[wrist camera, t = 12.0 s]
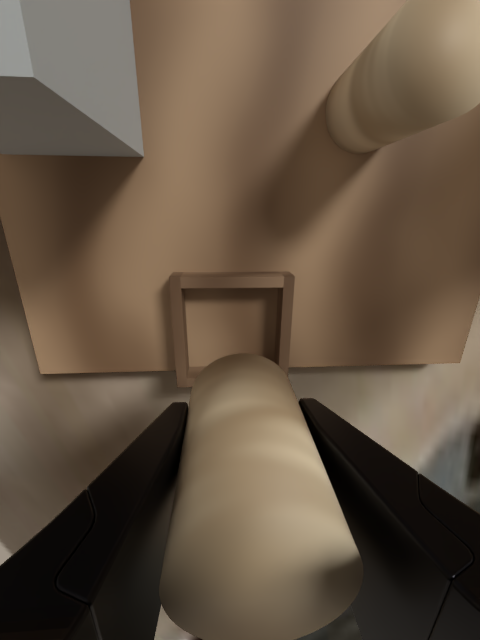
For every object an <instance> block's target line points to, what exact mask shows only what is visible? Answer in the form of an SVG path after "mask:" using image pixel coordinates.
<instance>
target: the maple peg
mask: <svg viewBox="0 0 480 640" xmlns="http://www.w3.org/2000/svg"><path fill="white" fill-rule="evenodd" d="M363 574H364V572H363V563H362V560H361V556H360V554H359V551H358V549H357V546H356V544H355V541H354V539H353V537H352V534H351V532H350V529H349V527H348V524H347V522H346V519H345V517H344V514H343V512H342V509H341V507H340V505H339V502H338V500H337V497H336V495H335V492H334V490H333V487H332V485H331V482H330V480H329V477H328V475H327V472H326V470H325V468H324V465H323V463H322V460H321V458H320V455H319V453H318V450H317V448H316V445H315V443H314V440H313V438H312V435H311V433H310V431H309V428H308V426H307V423H306V421H305V418H304V416H303V413H302V411H301V408H300V406H299V403H298V401H297V398H296V396H295V394H294V391H293V389H292V386H291V384H290V381H289V379H288V377H287V375H286V374H285V372H284V371H283V370H282V369H281V368H280V367H279V366H278V365H277V364H276V363H274V362H273V361H271V360H269V359H267V358H265V357H263V356H259V355H255V354H248V353H239V354H232V355H227V356H224V357H221V358H219V359H217V360H215V361H213V362H212V363H210V364H209V365H208V366H206V367H205V368H204V369H203V370H202V371H201V372H200V374H199V375H198V376H197V378H196V380H195V382H194V384H193V387H192V390H191V396H190V402H189V408H188V414H187V420H186V426H185V433H184V439H183V445H182V451H181V457H180V463H179V469H178V475H177V481H176V487H175V493H174V499H173V505H172V512H171V518H170V524H169V530H168V536H167V542H166V548H165V554H164V560H163V566H162V572H161V579H160V585H159V596H160V600H161V604H162V606H163V608H164V610H165V612H166V613H167V615H168V616H169V618H170V619H171V620H172V621H173V622H174V623H175V624H176V625H177V626H179V627H180V628H182V629H183V630H184V631H186V632H188V633H190V634H192V635H194V636H196V637H198V638H201V639H203V640H293V639H297V638H299V637H302V636H305V635H308V634H310V633H312V632H314V631H317V630H318V629H320V628H322V627H324V626H326V625H327V624H329V623H330V622H332V621H333V620H335V619H336V618H337V617H338V616H340V615H341V614H342V613H343V612H344V611H345V610H346V609H347V608H348V607H349V606H350V605H351V603H352V602H353V601H354V599H355V598H356V596H357V594H358V592H359V590H360V587H361V584H362V581H363Z"/></svg>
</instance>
